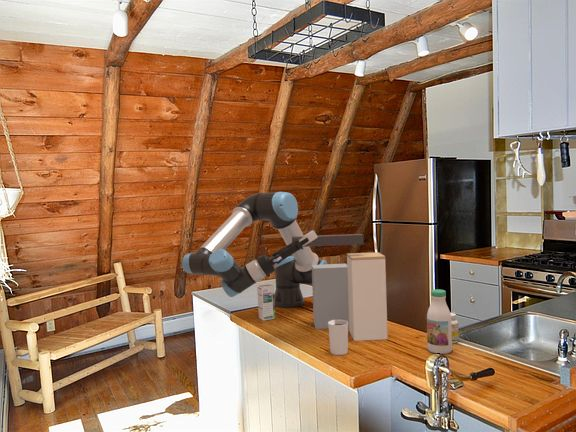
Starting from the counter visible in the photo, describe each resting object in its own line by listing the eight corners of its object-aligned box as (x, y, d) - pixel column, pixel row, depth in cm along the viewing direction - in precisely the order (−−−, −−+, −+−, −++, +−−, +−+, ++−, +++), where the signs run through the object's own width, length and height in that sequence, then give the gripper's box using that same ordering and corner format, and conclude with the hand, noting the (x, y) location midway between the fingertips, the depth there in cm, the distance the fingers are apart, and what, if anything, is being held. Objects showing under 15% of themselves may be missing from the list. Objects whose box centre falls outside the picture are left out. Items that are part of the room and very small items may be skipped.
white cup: (345, 347, 155) (344, 319, 155) (351, 354, 149) (350, 324, 148) (326, 349, 154) (325, 320, 154) (332, 356, 148) (331, 326, 147)
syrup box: (263, 321, 192) (261, 287, 191) (258, 317, 197) (257, 284, 197) (275, 319, 194) (274, 285, 193) (270, 316, 200) (269, 283, 199)
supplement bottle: (458, 344, 154) (457, 316, 154) (441, 343, 156) (441, 315, 156) (458, 339, 159) (458, 312, 159) (442, 338, 161) (442, 311, 161)
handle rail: (291, 246, 167) (291, 236, 167) (361, 243, 168) (361, 233, 168) (292, 247, 164) (291, 237, 164) (363, 244, 164) (363, 234, 164)
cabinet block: (349, 331, 173) (346, 253, 172) (380, 330, 173) (378, 252, 172) (354, 340, 162) (351, 257, 161) (387, 339, 162) (385, 256, 161)
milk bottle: (434, 344, 155) (433, 287, 154) (456, 349, 149) (455, 289, 148) (423, 351, 149) (421, 291, 148) (445, 356, 144) (443, 294, 143)
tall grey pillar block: (313, 322, 187) (311, 264, 186) (347, 321, 187) (345, 263, 186) (315, 329, 178) (313, 268, 177) (351, 327, 178) (349, 267, 177)
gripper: (267, 272, 174) (318, 239, 174) (266, 280, 157) (323, 244, 157) (256, 255, 174) (308, 223, 174) (254, 262, 157) (311, 226, 157)
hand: (315, 233), depth 165 cm, fingers closed on handle rail, 3 cm apart
